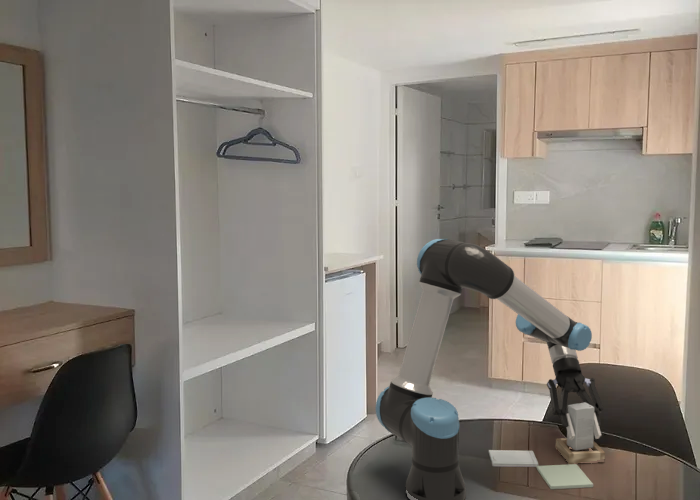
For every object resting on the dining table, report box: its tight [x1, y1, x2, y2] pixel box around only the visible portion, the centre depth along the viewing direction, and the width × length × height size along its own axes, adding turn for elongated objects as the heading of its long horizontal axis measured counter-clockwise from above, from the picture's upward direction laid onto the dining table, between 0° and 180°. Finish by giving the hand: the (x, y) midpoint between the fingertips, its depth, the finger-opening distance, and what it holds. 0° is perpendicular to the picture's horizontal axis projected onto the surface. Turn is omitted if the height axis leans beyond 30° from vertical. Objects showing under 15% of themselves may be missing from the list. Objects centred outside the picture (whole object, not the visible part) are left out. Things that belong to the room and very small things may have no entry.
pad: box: [536, 463, 594, 490], centre depth 173 cm, size 11×11×1 cm
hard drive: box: [488, 449, 539, 468], centre depth 184 cm, size 2×8×12 cm
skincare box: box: [566, 402, 595, 452], centre depth 184 cm, size 6×4×12 cm
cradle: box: [555, 437, 606, 465], centre depth 185 cm, size 10×10×3 cm
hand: (585, 437), depth 181 cm, fingers closed on skincare box, 7 cm apart
